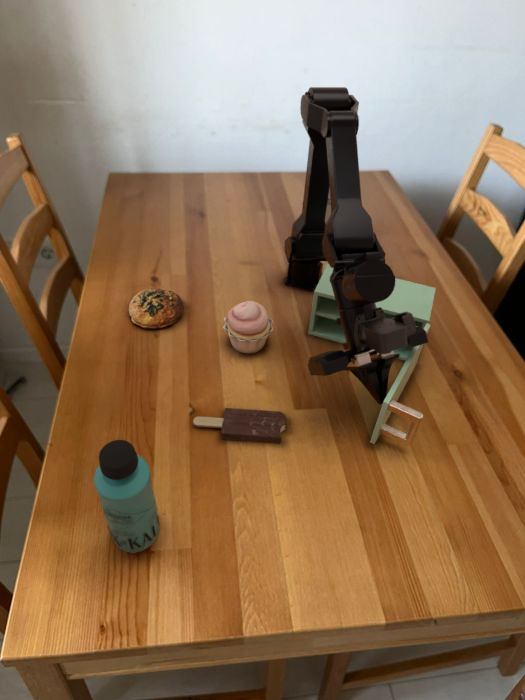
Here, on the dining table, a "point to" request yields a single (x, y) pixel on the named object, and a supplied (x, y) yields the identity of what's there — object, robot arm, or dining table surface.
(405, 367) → the fridge door
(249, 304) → the cupcake
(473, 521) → the dining table surface
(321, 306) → the fridge
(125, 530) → the beverage bottle
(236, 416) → the ice cream bar
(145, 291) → the bread roll
